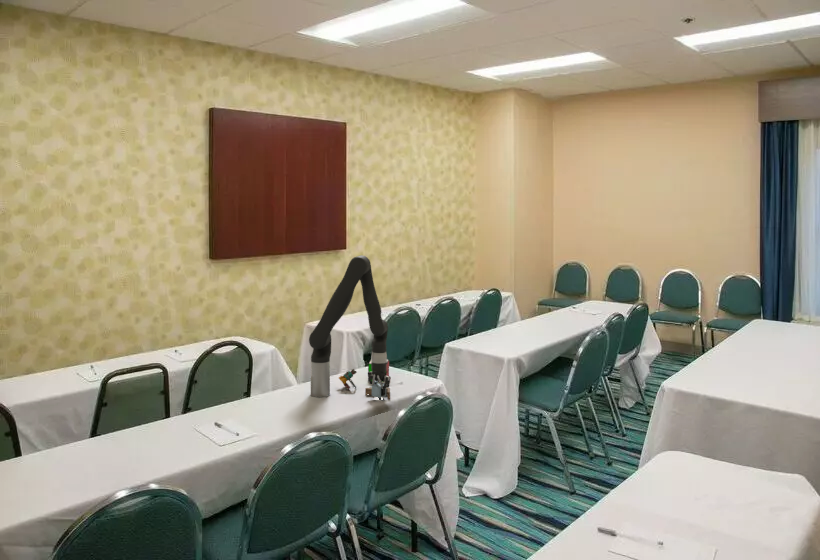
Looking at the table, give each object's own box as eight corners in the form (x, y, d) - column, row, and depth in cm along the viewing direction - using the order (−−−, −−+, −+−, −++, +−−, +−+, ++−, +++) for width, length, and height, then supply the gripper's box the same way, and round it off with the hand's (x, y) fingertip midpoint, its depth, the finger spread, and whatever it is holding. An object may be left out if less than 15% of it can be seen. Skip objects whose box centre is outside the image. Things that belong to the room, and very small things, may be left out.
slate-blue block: (371, 395, 313) (371, 385, 313) (378, 393, 317) (378, 383, 316) (378, 397, 310) (378, 387, 309) (386, 395, 314) (386, 385, 313)
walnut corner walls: (365, 399, 313) (365, 392, 313) (365, 394, 320) (365, 387, 320) (390, 399, 314) (390, 392, 313) (389, 394, 321) (389, 387, 320)
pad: (372, 400, 311) (372, 400, 311) (373, 397, 316) (372, 396, 316) (384, 400, 311) (384, 400, 311) (384, 397, 317) (384, 396, 317)
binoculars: (346, 389, 334) (336, 375, 331) (360, 379, 336) (350, 364, 334) (351, 395, 326) (340, 380, 323) (365, 384, 328) (355, 369, 325)
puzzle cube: (389, 377, 352) (389, 359, 350) (386, 382, 342) (386, 364, 341) (371, 376, 353) (371, 358, 351) (368, 381, 343) (368, 363, 342)
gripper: (363, 359, 313) (363, 393, 315) (384, 364, 304) (384, 399, 306) (374, 356, 319) (374, 389, 321) (395, 362, 309) (394, 396, 311)
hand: (378, 394), depth 313 cm, fingers closed on slate-blue block, 5 cm apart
